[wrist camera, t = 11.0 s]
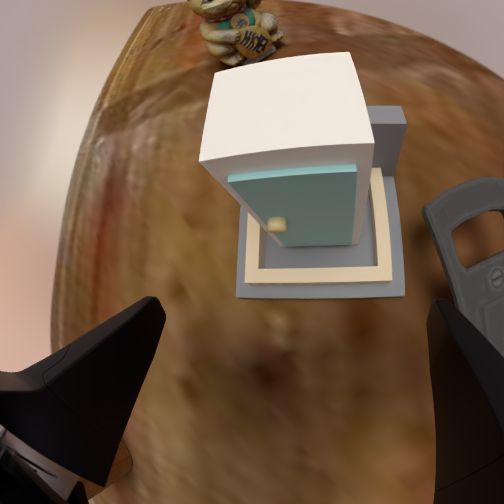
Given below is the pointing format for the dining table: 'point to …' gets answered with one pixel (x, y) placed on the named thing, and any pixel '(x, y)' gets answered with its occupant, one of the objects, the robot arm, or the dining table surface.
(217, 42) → the decorative figurine
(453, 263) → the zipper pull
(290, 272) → the board
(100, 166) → the dining table surface
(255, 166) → the white cabinet
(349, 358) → the dining table surface
